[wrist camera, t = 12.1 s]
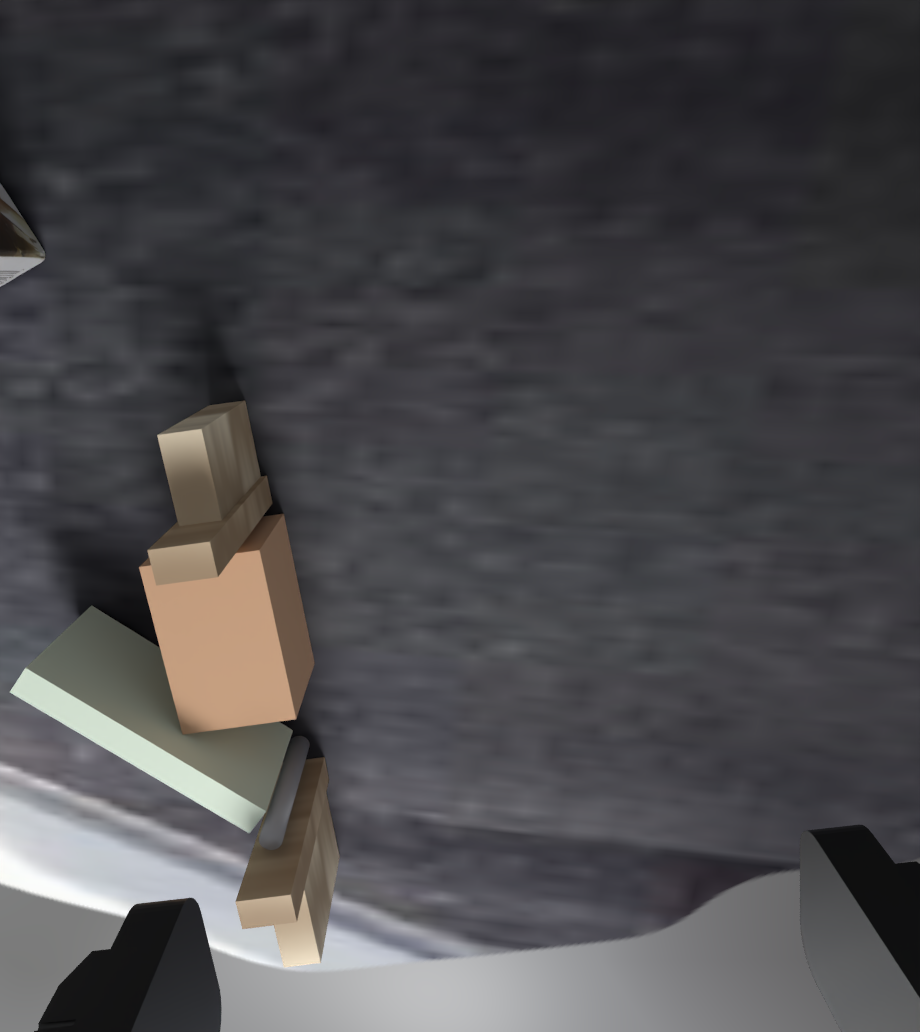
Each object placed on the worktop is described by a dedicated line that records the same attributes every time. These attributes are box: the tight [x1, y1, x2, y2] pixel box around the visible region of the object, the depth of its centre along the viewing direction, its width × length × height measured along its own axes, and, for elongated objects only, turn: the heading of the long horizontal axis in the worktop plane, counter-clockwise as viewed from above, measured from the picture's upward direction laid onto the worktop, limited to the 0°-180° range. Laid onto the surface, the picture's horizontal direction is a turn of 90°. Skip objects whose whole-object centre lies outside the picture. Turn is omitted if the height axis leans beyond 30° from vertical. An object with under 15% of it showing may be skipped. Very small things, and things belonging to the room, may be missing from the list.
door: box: [10, 605, 310, 850], centre depth 35 cm, size 11×2×7 cm, turn 54°
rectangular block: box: [139, 514, 315, 735], centre depth 35 cm, size 7×4×5 cm, turn 8°
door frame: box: [147, 401, 340, 967], centre depth 33 cm, size 22×2×9 cm, turn 8°
